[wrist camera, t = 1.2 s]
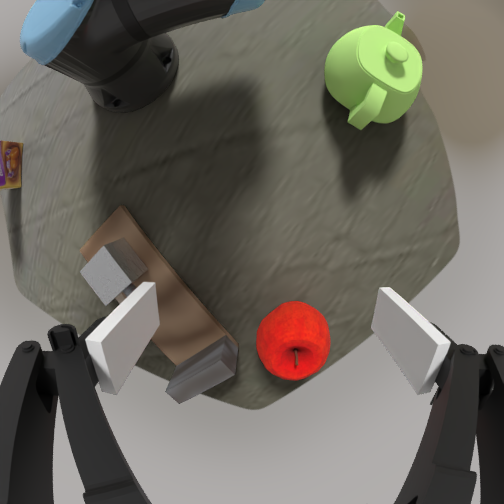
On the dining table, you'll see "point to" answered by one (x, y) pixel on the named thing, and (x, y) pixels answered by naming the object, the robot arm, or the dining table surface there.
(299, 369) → the apple
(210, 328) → the rail
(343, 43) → the teapot
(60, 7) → the robot arm
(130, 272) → the grey slider block
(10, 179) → the candy box
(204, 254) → the dining table surface
